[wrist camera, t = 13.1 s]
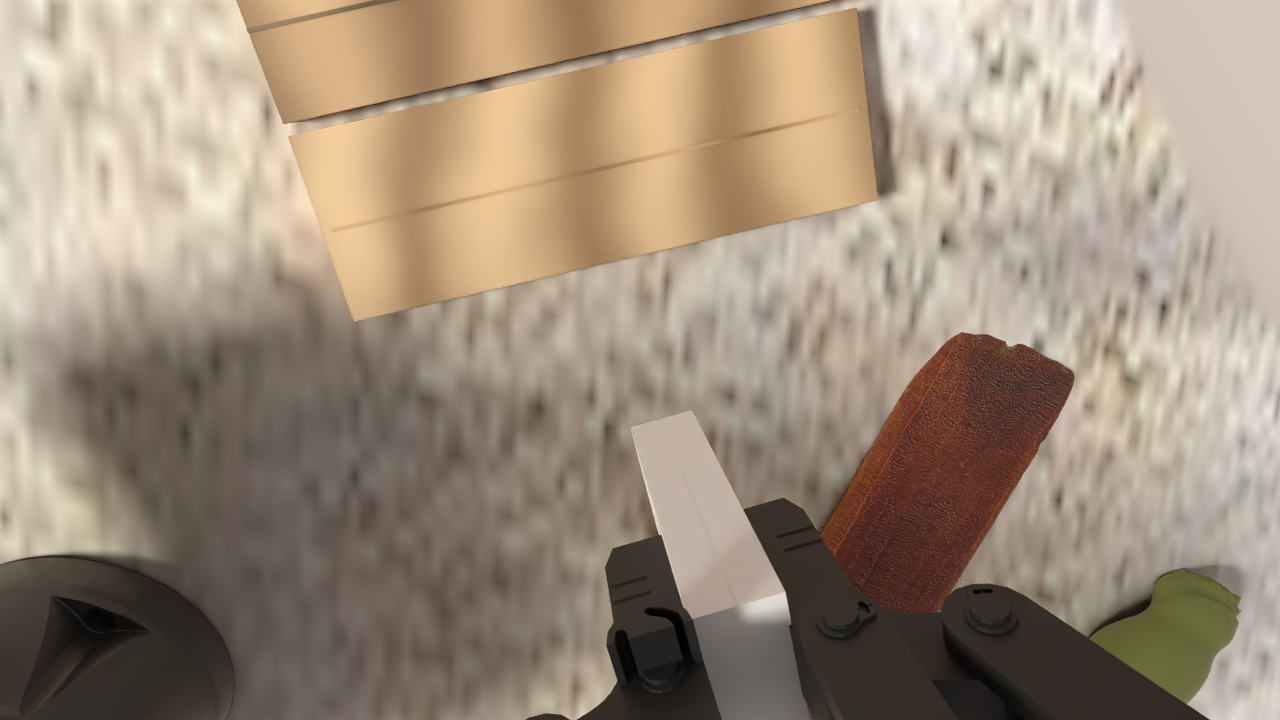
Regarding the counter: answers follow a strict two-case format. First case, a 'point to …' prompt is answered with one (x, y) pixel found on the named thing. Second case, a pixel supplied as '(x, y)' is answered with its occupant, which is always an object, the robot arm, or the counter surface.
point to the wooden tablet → (944, 470)
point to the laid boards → (451, 41)
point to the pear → (1175, 632)
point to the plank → (593, 165)
